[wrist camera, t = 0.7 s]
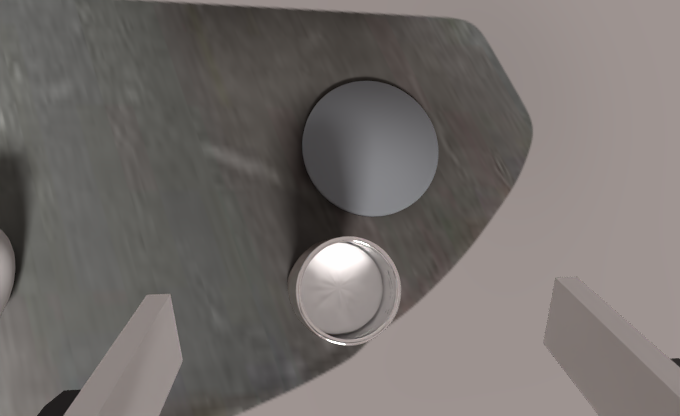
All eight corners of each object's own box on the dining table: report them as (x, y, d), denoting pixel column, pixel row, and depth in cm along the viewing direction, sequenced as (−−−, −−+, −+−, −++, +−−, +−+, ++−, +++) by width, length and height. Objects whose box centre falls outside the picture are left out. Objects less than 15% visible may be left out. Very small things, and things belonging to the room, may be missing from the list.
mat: (273, 158, 41) (273, 155, 41) (356, 58, 45) (357, 54, 44) (385, 244, 42) (387, 244, 41) (459, 140, 45) (463, 138, 44)
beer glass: (285, 245, 40) (297, 228, 26) (357, 250, 42) (406, 237, 27) (279, 320, 39) (287, 346, 25) (353, 323, 40) (402, 351, 26)
